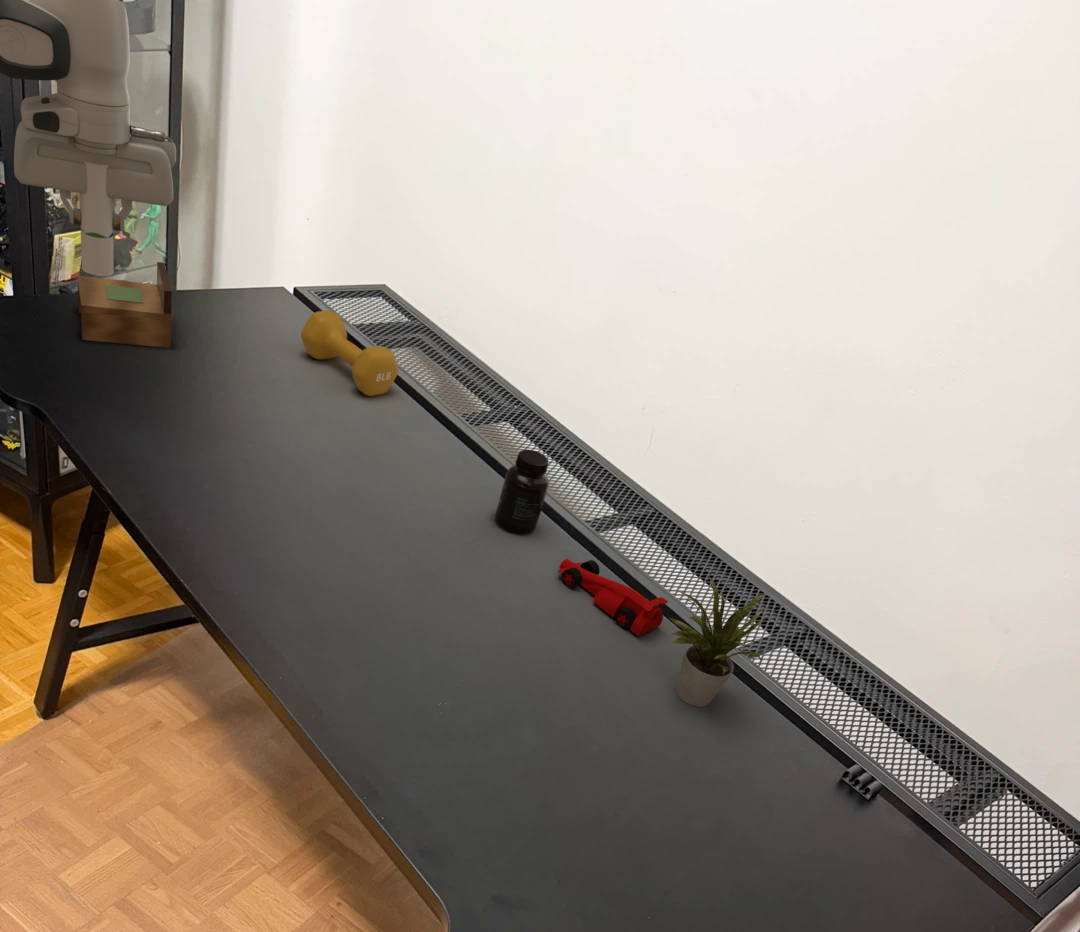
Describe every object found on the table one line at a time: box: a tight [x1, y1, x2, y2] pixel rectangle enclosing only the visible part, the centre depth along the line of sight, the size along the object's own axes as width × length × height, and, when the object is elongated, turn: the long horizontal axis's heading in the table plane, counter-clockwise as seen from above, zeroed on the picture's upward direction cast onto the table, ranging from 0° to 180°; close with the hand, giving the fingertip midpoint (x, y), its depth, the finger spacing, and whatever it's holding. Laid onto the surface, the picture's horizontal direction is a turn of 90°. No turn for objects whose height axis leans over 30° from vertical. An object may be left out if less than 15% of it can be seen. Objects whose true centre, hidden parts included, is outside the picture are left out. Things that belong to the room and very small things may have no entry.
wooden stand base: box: [77, 261, 173, 349], centre depth 174 cm, size 14×12×10 cm
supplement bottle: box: [494, 449, 550, 536], centre depth 159 cm, size 7×7×12 cm
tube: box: [79, 161, 115, 277], centre depth 143 cm, size 4×4×15 cm
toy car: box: [557, 558, 669, 637], centre depth 152 cm, size 6×18×5 cm, turn 47°
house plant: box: [669, 576, 767, 708], centre depth 137 cm, size 14×14×16 cm
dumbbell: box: [300, 310, 399, 397], centre depth 184 cm, size 19×9×8 cm, turn 47°
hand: (96, 226), depth 144 cm, fingers closed on tube, 4 cm apart
